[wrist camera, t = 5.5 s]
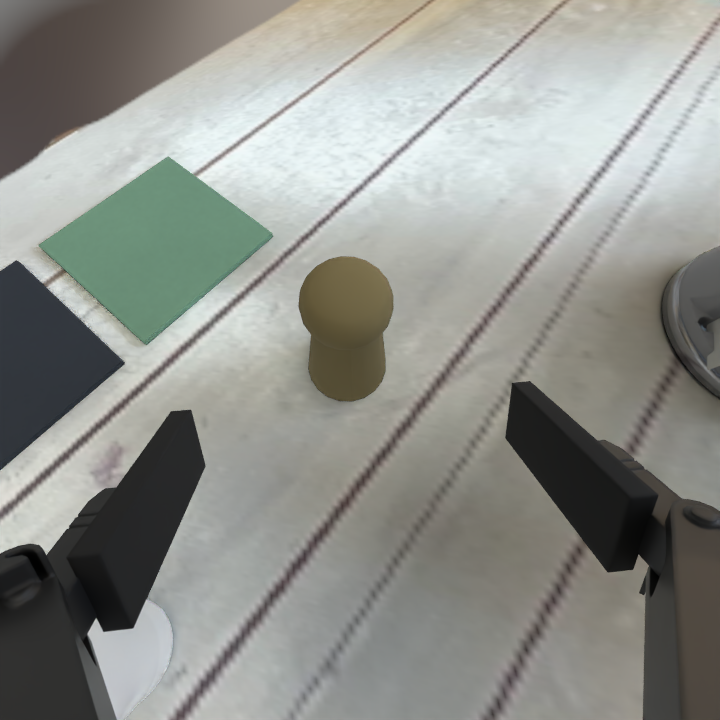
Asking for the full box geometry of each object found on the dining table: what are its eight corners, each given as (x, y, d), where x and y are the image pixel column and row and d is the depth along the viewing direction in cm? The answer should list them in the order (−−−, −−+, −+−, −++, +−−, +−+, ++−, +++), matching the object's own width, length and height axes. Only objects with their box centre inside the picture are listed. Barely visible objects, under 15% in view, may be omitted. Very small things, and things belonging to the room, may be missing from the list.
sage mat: (170, 160, 37) (168, 156, 36) (273, 236, 34) (272, 232, 33) (42, 249, 33) (38, 245, 32) (146, 345, 30) (143, 342, 29)
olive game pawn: (317, 323, 31) (301, 230, 20) (390, 336, 30) (412, 247, 20) (300, 393, 28) (272, 328, 18) (379, 408, 28) (396, 349, 18)
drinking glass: (45, 691, 22) (-511, 1022, 8) (114, 564, 24) (-213, 640, 10) (150, 742, 21) (-250, 1211, 7) (209, 607, 23) (3, 750, 9)
